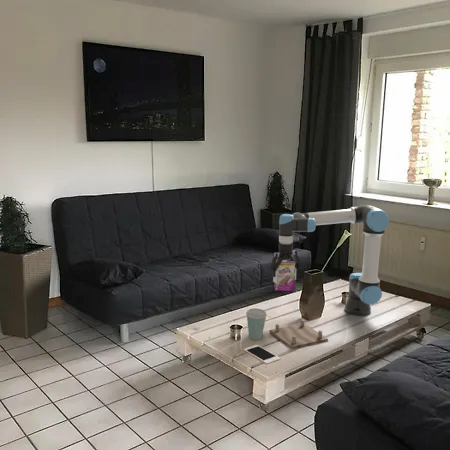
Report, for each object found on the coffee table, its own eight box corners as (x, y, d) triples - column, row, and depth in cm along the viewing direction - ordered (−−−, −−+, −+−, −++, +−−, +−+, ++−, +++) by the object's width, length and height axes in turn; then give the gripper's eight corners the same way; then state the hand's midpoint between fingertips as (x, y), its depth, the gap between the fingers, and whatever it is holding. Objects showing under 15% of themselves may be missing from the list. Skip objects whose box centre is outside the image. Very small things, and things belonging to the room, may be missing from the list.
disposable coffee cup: (253, 331, 269) (254, 305, 266) (270, 337, 262) (271, 310, 259) (241, 337, 261) (242, 310, 258) (258, 343, 254) (259, 316, 251)
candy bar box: (274, 291, 276) (274, 262, 273) (274, 288, 281) (274, 259, 278) (294, 291, 275) (295, 263, 272) (294, 288, 280) (295, 260, 277)
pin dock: (303, 325, 278) (304, 317, 277) (328, 341, 258) (328, 332, 257) (269, 332, 268) (269, 323, 267) (292, 348, 249) (292, 340, 248)
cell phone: (266, 365, 233) (266, 363, 233) (242, 350, 247) (242, 348, 247) (280, 359, 238) (280, 358, 238) (256, 346, 252) (256, 344, 252)
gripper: (300, 239, 281) (299, 276, 286) (263, 243, 271) (262, 281, 275) (308, 241, 274) (306, 279, 279) (270, 246, 264) (269, 285, 269)
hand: (284, 280), depth 277 cm, fingers closed on candy bar box, 12 cm apart
